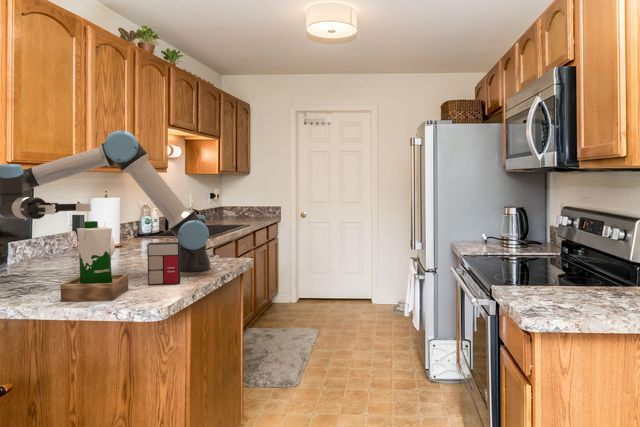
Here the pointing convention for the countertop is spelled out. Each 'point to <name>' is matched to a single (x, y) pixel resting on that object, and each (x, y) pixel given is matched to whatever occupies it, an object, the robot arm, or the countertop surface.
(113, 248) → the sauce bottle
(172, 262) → the beige and red box
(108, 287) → the wooden tray
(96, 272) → the soya milk
